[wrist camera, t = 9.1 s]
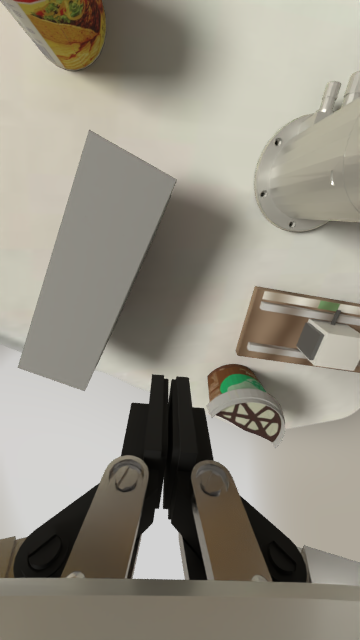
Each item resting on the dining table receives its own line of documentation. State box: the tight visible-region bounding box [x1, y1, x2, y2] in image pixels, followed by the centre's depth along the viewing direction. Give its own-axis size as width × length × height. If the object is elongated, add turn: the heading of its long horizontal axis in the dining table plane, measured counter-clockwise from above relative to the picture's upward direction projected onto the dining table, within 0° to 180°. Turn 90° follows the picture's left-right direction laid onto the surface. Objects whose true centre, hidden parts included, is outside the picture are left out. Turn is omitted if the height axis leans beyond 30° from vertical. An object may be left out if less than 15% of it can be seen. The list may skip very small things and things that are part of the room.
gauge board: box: [236, 286, 360, 373], centre depth 38 cm, size 24×11×6 cm, turn 80°
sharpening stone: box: [18, 130, 177, 391], centre depth 30 cm, size 25×8×11 cm, turn 154°
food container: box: [207, 364, 285, 448], centre depth 39 cm, size 12×6×10 cm, turn 58°
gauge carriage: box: [296, 310, 360, 371], centre depth 36 cm, size 7×7×5 cm
